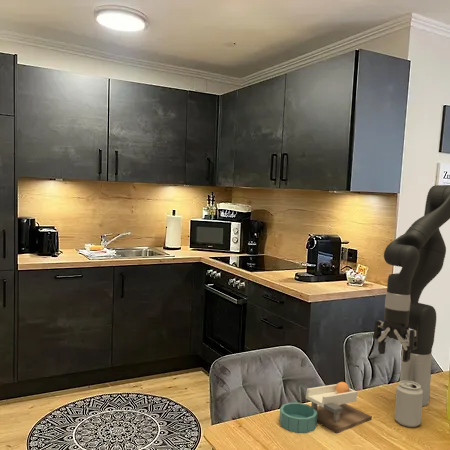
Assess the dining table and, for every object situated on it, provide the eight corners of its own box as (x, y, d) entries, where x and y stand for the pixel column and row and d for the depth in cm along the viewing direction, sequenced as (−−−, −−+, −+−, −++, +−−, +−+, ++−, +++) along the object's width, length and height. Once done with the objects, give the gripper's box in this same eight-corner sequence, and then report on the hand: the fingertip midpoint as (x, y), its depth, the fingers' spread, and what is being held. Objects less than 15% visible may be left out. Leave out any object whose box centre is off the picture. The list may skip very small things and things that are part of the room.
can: (423, 430, 135) (425, 390, 135) (396, 426, 137) (398, 387, 136) (417, 418, 143) (420, 380, 142) (392, 415, 144) (394, 377, 144)
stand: (337, 402, 152) (338, 384, 151) (371, 419, 141) (372, 400, 140) (302, 414, 142) (303, 395, 142) (336, 433, 131) (337, 412, 131)
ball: (340, 392, 147) (342, 380, 147) (350, 397, 144) (352, 384, 144) (332, 392, 144) (334, 379, 145) (342, 397, 141) (344, 384, 141)
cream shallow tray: (338, 392, 149) (339, 383, 149) (367, 406, 140) (368, 396, 140) (305, 398, 140) (306, 388, 140) (334, 413, 131) (335, 402, 131)
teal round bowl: (297, 412, 144) (298, 399, 143) (323, 426, 135) (324, 413, 135) (272, 420, 137) (273, 407, 137) (297, 436, 129) (298, 422, 129)
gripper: (424, 311, 143) (420, 362, 143) (385, 301, 154) (381, 349, 155) (411, 313, 138) (406, 366, 139) (371, 303, 150) (367, 352, 150)
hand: (393, 357), depth 147 cm, fingers open, 8 cm apart
